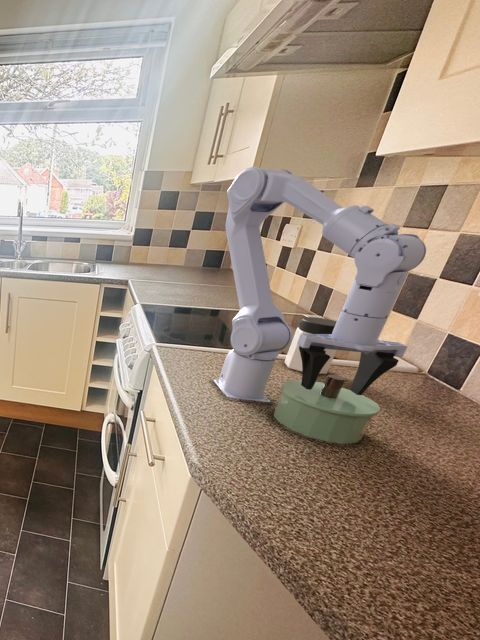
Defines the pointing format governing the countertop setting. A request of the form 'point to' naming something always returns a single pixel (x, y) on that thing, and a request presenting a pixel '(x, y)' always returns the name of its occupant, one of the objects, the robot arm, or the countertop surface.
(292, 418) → the tin
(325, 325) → the jar
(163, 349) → the countertop surface
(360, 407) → the lid
